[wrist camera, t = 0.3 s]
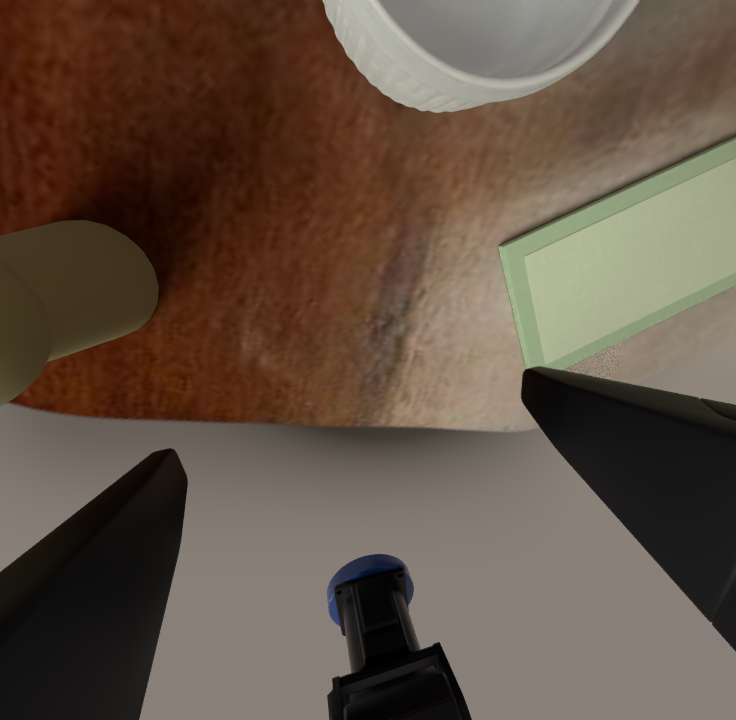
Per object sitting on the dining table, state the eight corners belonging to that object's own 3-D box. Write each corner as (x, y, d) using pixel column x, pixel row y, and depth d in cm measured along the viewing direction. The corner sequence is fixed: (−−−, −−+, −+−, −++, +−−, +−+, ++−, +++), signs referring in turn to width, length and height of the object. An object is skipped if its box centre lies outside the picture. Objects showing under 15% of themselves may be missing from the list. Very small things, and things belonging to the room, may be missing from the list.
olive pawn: (36, 336, 18) (-261, 467, 8) (9, 212, 16) (-422, 190, 6) (163, 340, 20) (40, 456, 10) (153, 226, 18) (-16, 227, 8)
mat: (528, 381, 26) (534, 384, 26) (497, 246, 22) (503, 246, 22) (754, 271, 27) (764, 272, 27) (765, 121, 23) (778, 119, 23)
